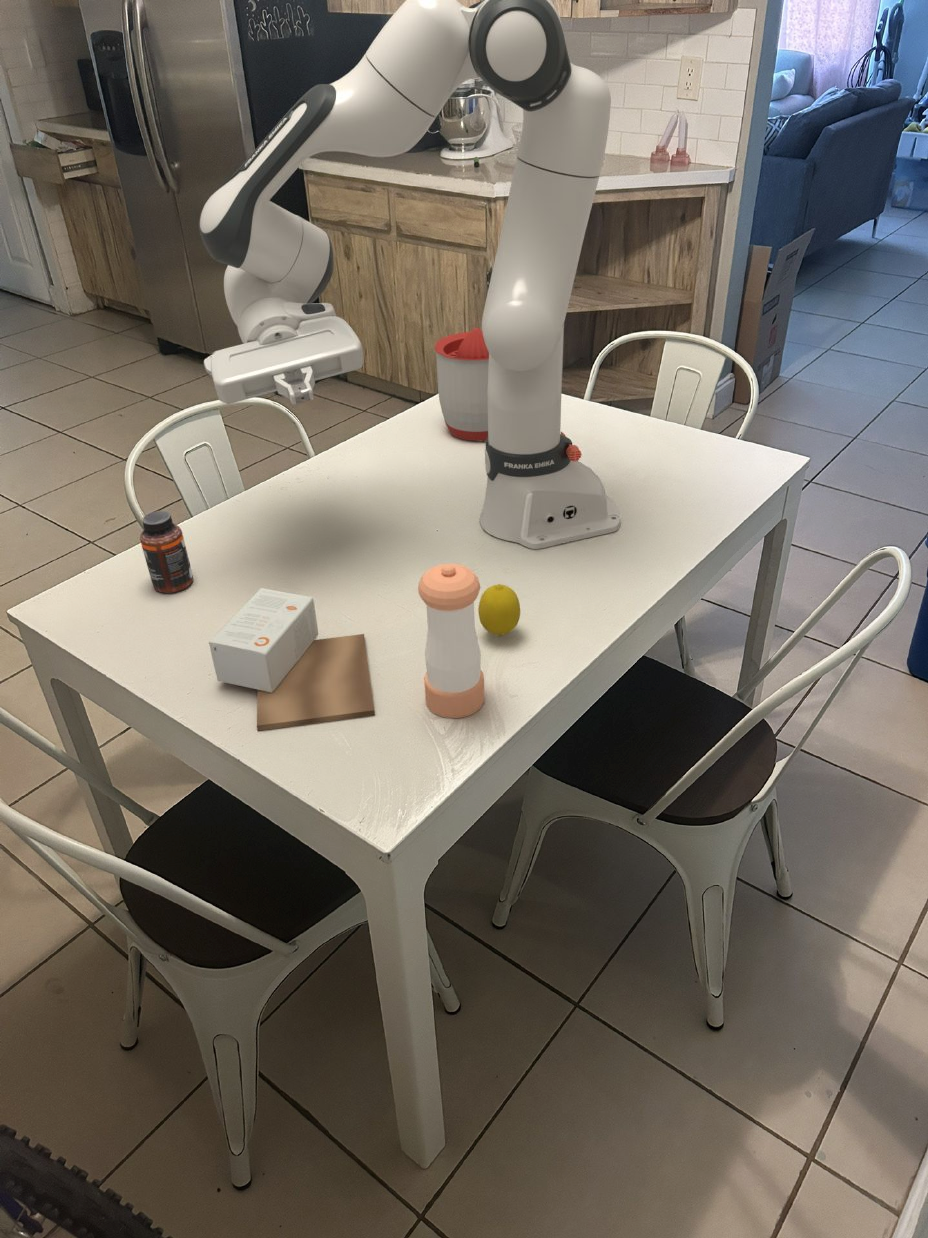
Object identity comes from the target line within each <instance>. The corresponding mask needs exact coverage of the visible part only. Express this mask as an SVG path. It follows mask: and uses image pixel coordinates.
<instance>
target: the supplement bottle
mask: <svg viewBox="0 0 928 1238" xmlns="http://www.w3.org/2000/svg"><path fill="white" fill-rule="evenodd" d="M141 521H142V525H143V530H142V531H141V533H140V536H139V540H140V544H141V548H142V552H143V555H144V559H145V562H146V566H147V570H148V574H149V578H150V580H151V583H152V586H153V587H152V588H154V589H155V590H156V591H158V592H160V593H164V594H169V593H178V592H181V591H183V590H185V589H187V588H188V587H190V585H191V584H192V583H193V580H194V575H193V570H192V567H191V563H190V559H189V558H190V557H189V555H188V550H187V546H186V542H185V539H184V535H183V531H182V528H181V527H180V526H179V525H178V524H175V523H174V522H173V519H172V515H171V513H170V512H168V511H165V510H157V511H152V512H149V513H148V514H146V515H144V516H143V517H142V520H141Z"/></svg>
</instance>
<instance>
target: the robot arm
mask: <svg viewBox="0 0 928 1238" xmlns="http://www.w3.org/2000/svg"><path fill="white" fill-rule="evenodd" d="M479 78H480V79H481V80H482V81H483V82H484V84H486V86H487V87H488V88H490V89H491V90H492V91H494V92H495V93H496V94H498V95H499V96H501V97H502V98H505V99H506V100H508V101H510V102H511V103H513V104H514V105H516V106H518V107H519V108H521V109H522V114H523V117H522V118H523V119H522V128H521V135H520V139H519V144H518V148H517V153H516V158H515V163H514V168H513V173H512V178H511V182H510V188H509V193H508V197H507V202H506V207H505V212H504V216H503V221H502V226H501V232H500V235H499V239H498V243H497V249H496V252H495V253H496V254H495V258H494V263H493V266H492V270H491V271H492V272H491V276H490V280H489V285H488V290H487V294H486V297H485V298H486V299H485V303H484V304H485V305H484V309H483V313H482V319H481V331H482V333H483V338H484V342H485V345H486V347H487V349H488V352H489V368H488V387H487V401H488V437H487V439H486V441H485V449H484V464H485V465H484V466H485V467H484V468H485V473H486V476H487V477H486V478H487V480H486V489H485V490H486V491H485V495H484V496H485V497H484V502H483V507H482V510H481V513H480V518H479V524H480V525H481V528H482V529H483V530H484V531H485V532H486V533H488V534H489V535H491V536H492V537H495V538H498V539H500V540H505V541H508V542H509V541H510V542H513V543H518V544H520V545H522V546H523V547H526V548H529V549H532V550H538V549H539V550H540V549H544V548H547V547H548V548H549V547H552V546H557V545H561V543H562V544H566V543H570V541H571V542H574V541H579V540H583V539H587V538H592V537H597V536H602V535H605V534H609V533H610V534H611V533H613V532H616V531H618V530H619V528H620V527H621V526H620V525H621V515H620V510H619V508H618V507H617V505H616V503H614V501H613V499H611V497H609V496H608V495H607V494H606V491H605V487H604V484H603V482H602V480H601V479H600V477H599V476H598V475H597V474H596V472H595V471H594V470H593V469H591V468H590V467H588V466H587V465H585V464H584V463H582V462H580V459H581V458H582V451H581V450H580V449H579V447H578V446H577V445H575V444H573V441H572V440H571V439H570V438H569V437H567V435H566V434H565V433H564V432H563V431H561V428H562V427H561V420H562V415H561V414H562V389H563V388H562V385H563V361H564V360H563V358H564V332H565V331H564V329H565V321H566V317H567V312H568V308H569V303H570V300H571V295H572V291H573V286H574V283H575V278H576V274H577V269H578V264H579V260H580V255H581V251H582V247H583V242H584V238H585V234H586V230H587V227H588V222H589V219H590V214H591V212H592V211H591V210H592V207H593V202H594V199H595V195H596V192H597V187H598V184H599V179H600V175H601V172H602V168H603V163H604V159H605V153H606V147H607V141H608V136H609V135H608V134H609V129H610V120H611V119H610V118H611V108H612V107H611V105H612V104H611V103H612V102H611V101H612V98H611V97H612V96H611V92H610V89H609V87H608V85H607V84H606V83H607V82H606V81H605V80H604V79H603V78H602V77H600V76H599V75H598V74H597V73H596V72H594V71H593V70H590V69H588V68H585V67H583V66H579V65H575V64H574V63H572V62H571V61H570V56H569V52H568V49H567V43H566V39H565V35H564V29H563V24H562V20H561V16H560V14H559V12H558V10H557V8H556V6H555V4H554V3H553V2H552V0H480V1H478V2H476V3H474V4H472V5H470V6H468V7H467V6H465V5H464V4H461V3H460V1H458V0H405V1H404V2H403V3H402V4H400V6H399V7H398V9H397V10H396V11H395V12H394V13H393V15H392V16H391V17H390V18H389V19H388V21H386V23H385V24H384V26H383V27H382V28H381V30H380V31H379V33H378V34H377V36H375V38H374V39H373V41H372V42H371V44H370V46H369V47H368V49H367V50H366V52H365V53H364V55H363V56H362V58H361V59H360V61H359V62H358V63H357V64H356V65H355V66H354V68H352V69H351V70H350V71H349V72H348V73H346V74H345V75H343V76H342V77H340V78H339V79H338V80H335V81H334V82H331V83H326V84H325V83H320V84H316V85H314V86H313V87H311V88H310V89H309V90H308V91H306V92H305V94H303V95H302V96H301V97H300V98H299V99H298V100H297V102H295V104H293V106H291V108H289V110H288V111H287V112H286V113H285V114H284V115H283V117H282V118H280V120H279V121H278V122H277V123H276V125H274V127H273V128H272V130H270V132H269V133H268V134H267V135H266V136H265V137H264V139H263V140H262V141H261V142H260V143H259V145H258V146H257V147H256V148H255V149H254V151H252V153H251V154H250V156H248V157H247V159H246V160H245V161H244V162H243V163H242V165H241V166H240V167H239V168H238V169H237V170H236V171H235V172H234V173H233V174H232V175H231V176H230V177H229V178H228V179H226V180H225V181H224V182H223V183H222V184H220V185H219V186H218V187H217V188H216V189H215V190H214V191H213V192H212V193H211V194H210V195H209V197H208V198H207V200H206V202H205V203H204V205H203V207H202V209H201V211H200V214H199V217H198V218H199V219H198V230H199V235H200V237H201V241H202V242H203V245H204V248H206V251H207V252H208V254H209V255H210V257H211V258H212V259H213V260H214V261H216V262H218V263H221V264H225V265H227V267H226V269H225V271H224V276H223V290H224V291H223V292H224V297H225V301H226V302H225V303H226V306H227V308H228V311H229V314H230V317H231V319H232V320H233V323H234V324H235V325H236V327H237V332H238V335H239V338H240V340H241V342H242V344H237V345H234V346H230V347H226V348H223V349H217V350H215V351H212V352H211V355H209V356H207V357H206V358H205V359H204V360H203V366H204V369H205V372H206V373H207V374H208V375H209V376H211V377H212V380H213V384H214V388H215V391H216V394H217V396H218V400H219V402H222V403H223V404H227V405H230V404H234V403H238V402H242V401H245V400H249V399H254V398H256V397H260V396H264V395H267V394H272V393H274V392H277V394H279V395H281V396H282V397H285V398H287V399H289V400H290V402H291V404H292V406H294V405H295V406H296V405H297V404H302V403H304V402H309V401H312V400H313V401H314V400H315V396H314V391H313V389H314V387H315V385H316V381H320V380H323V379H327V378H331V377H335V376H338V375H342V374H345V373H349V372H352V371H357V370H360V369H362V367H363V364H364V362H365V359H364V350H363V345H362V342H361V341H360V339H359V336H358V335H357V334H356V331H354V330H353V328H352V326H350V324H349V323H348V322H347V321H346V320H345V319H344V318H342V317H339V316H337V314H336V311H335V308H334V305H332V304H331V303H330V302H320V303H319V302H318V303H317V302H316V303H314V302H315V301H316V300H317V299H318V298H319V297H320V296H321V295H322V294H323V293H324V291H325V289H327V286H328V284H329V283H330V281H331V278H332V276H333V274H334V264H335V263H334V260H335V259H334V249H333V244H332V241H331V238H330V236H329V234H328V233H327V231H326V230H324V229H322V228H320V227H318V226H317V225H315V224H313V223H312V222H311V221H308V220H306V219H305V218H303V217H301V216H300V215H297V214H294V213H292V212H290V211H288V210H287V209H285V208H283V207H281V206H280V205H278V204H276V203H275V202H273V201H271V199H272V198H273V196H275V195H276V193H277V192H278V191H279V189H281V188H282V186H283V185H285V183H286V182H287V181H288V180H289V179H290V178H291V176H292V175H293V174H294V173H295V171H296V170H297V169H298V168H299V167H300V166H301V165H302V164H303V163H304V162H305V161H306V160H307V159H309V158H310V157H312V156H314V155H316V154H320V153H325V152H326V153H327V152H342V153H343V152H344V153H352V154H356V155H363V156H367V157H373V158H374V157H375V158H388V157H394V156H399V155H401V154H404V153H407V152H409V151H410V150H411V149H412V148H413V147H415V146H416V145H417V144H418V142H419V141H421V139H422V138H423V137H424V135H425V134H426V133H427V131H428V130H429V129H430V128H431V126H432V124H433V123H434V121H435V120H436V118H437V116H439V114H440V112H441V111H442V109H443V108H444V106H445V105H446V103H447V102H448V100H449V99H450V98H451V97H452V95H453V94H454V92H455V91H456V90H457V89H458V88H459V87H460V86H461V85H462V84H463V83H465V82H467V81H469V80H471V79H472V80H473V79H479Z"/></svg>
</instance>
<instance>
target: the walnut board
mask: <svg viewBox="0 0 928 1238" xmlns="http://www.w3.org/2000/svg"><path fill="white" fill-rule="evenodd" d="M365 638H366V637H365V633H360V634H351V635H344V636H337V637H329V638H327V637H326V638H321V639H315V640H314V641H313V642H312V644H311V645H310V646H309V647H308V649H307V650H306V651H305V653H304V654H303V655H302V656H301V658H300V659H299V660H298V661H297V662H296V664H295V665H294V666H293V667H292V669H291V670H290V671H289V672H288V674H287V675H286V676H285V678H284V679H283V680H282V681H281V682H280V684H279V685H278V686H277V687H276V689H275V690H274V691H273V692H272V693H271V692H266V691H261V690H257V702H256V703H257V705H256V728H257V732H258V731H261V732H262V731H266V730H267V731H268V730H275V729H282V728H283V729H284V728H288V727H297V726H305V725H311V724H316V723H318V724H320V723H326V722H334V721H340V720H348V719H349V720H350V719H356V718H365V717H370V716H371V717H372V716H375V715H376V714H375V706H374V700H373V692H372V682H371V677H370V675H371V674H370V668H369V667H370V666H369V660H368V653H367V646H366V639H365Z"/></svg>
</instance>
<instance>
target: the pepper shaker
mask: <svg viewBox="0 0 928 1238" xmlns="http://www.w3.org/2000/svg"><path fill="white" fill-rule="evenodd" d="M417 590H418V591H417V592H418V595H419V597H420V598H421V600H422V602H423V603H424V604H425V605H426V617H427V620H426V621H427V633H426V641H425V650H424V657H425V658H424V660H425V667H426V672H425V674H424V677H423V680H424V682H423V683H424V695H425V704H426V707H427V708H428V709H429V711H431V712H432V713H433V714H435V715H437V716H440V717H441V718H442V717H443V718H448V719H461V718H465V717H469V716H472V715H473V714H475V713H477V711H479V710H480V709H481V708H482V706H483V705H484V702H485V699H486V698H485V677H484V671H482V667H481V663H482V661H481V658H482V657H481V656H482V655H481V649H480V644H479V640H478V635H477V630H476V621H475V603H474V602H475V601H476V600H477V598H478V596H479V593H480V591H481V583H480V580H479V577H478V576H477V575H476V574H475V572H473V571H472V569H471V568H469V567H467V566H466V565H462V564H458V563H444V564H443V563H442V564H438V565H434V566H433V567H431V568H428V570H426V571H425V572H424V573H423V575H422V576H421V577H420V580H419V582H418V586H417Z"/></svg>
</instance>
